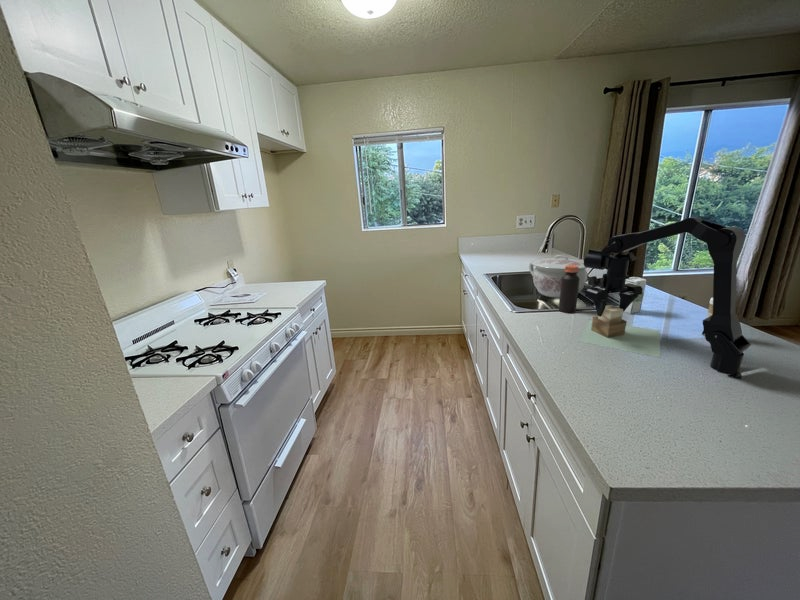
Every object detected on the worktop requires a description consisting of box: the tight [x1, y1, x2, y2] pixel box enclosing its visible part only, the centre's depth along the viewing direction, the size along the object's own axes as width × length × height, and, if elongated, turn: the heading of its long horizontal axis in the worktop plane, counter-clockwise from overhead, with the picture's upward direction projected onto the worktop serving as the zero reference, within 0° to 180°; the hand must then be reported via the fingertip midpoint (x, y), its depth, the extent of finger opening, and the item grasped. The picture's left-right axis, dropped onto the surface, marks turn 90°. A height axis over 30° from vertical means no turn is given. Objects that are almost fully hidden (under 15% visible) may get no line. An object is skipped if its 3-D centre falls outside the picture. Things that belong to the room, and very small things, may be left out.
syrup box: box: [617, 276, 647, 315], centre depth 134 cm, size 6×6×14 cm
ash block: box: [597, 304, 624, 323], centre depth 113 cm, size 5×5×5 cm
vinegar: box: [558, 265, 580, 314], centre depth 137 cm, size 7×7×20 cm
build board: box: [579, 319, 661, 358], centre depth 112 cm, size 24×22×1 cm
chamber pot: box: [528, 254, 588, 299], centre depth 160 cm, size 28×28×21 cm
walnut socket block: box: [591, 315, 628, 338], centre depth 114 cm, size 7×7×5 cm
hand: (610, 314), depth 113 cm, fingers open, 9 cm apart
